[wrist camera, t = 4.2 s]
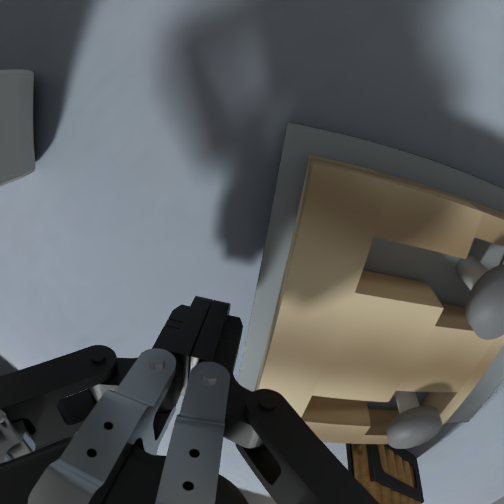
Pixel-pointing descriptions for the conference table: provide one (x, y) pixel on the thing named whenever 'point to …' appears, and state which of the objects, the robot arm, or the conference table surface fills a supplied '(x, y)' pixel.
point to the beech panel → (372, 304)
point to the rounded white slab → (16, 125)
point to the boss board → (389, 267)
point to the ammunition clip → (386, 472)
